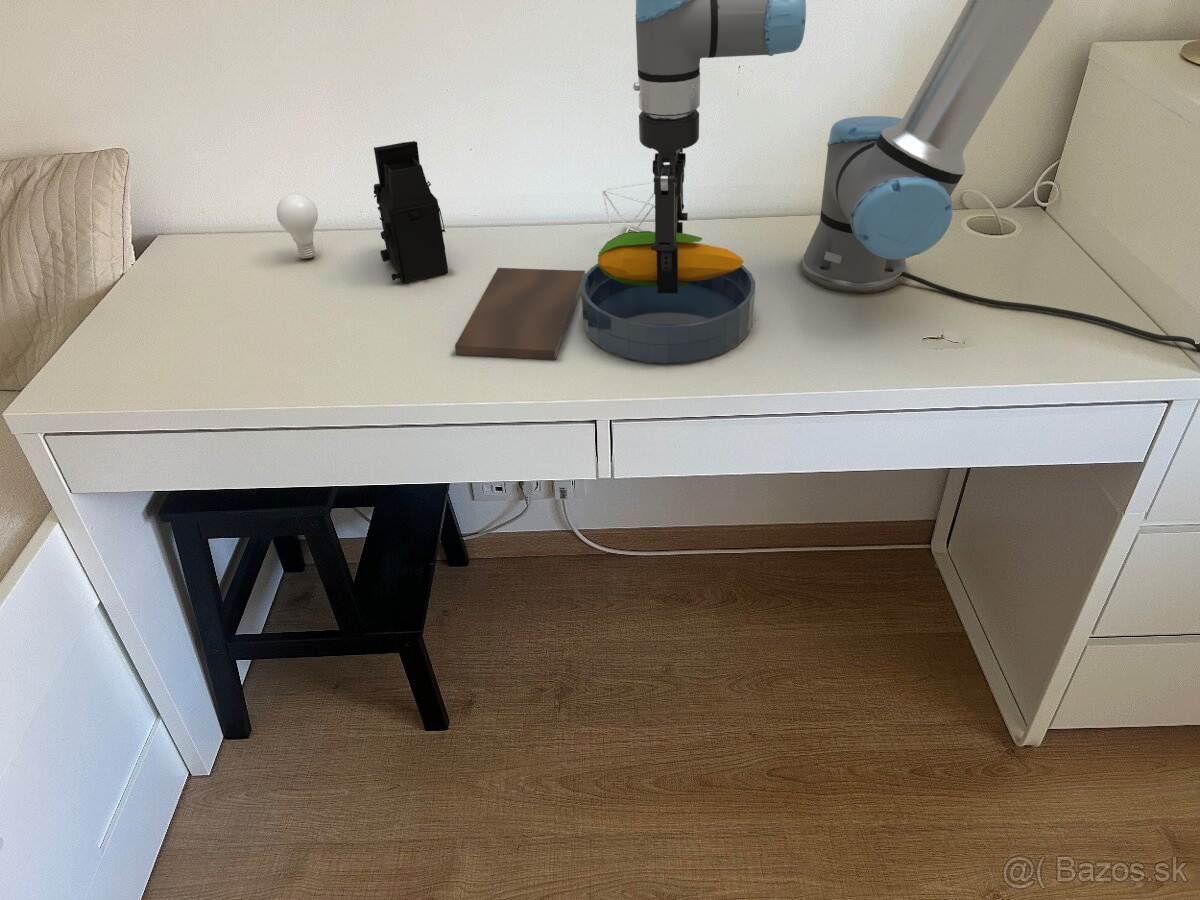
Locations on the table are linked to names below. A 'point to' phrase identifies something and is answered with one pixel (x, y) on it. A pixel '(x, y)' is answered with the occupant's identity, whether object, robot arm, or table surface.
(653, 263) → the corn
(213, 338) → the table surface
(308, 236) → the lightbulb
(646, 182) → the geometric polyhedron
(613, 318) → the bowl
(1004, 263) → the table surface
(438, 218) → the camera
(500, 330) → the walnut board
